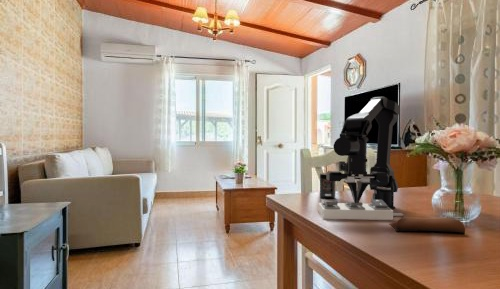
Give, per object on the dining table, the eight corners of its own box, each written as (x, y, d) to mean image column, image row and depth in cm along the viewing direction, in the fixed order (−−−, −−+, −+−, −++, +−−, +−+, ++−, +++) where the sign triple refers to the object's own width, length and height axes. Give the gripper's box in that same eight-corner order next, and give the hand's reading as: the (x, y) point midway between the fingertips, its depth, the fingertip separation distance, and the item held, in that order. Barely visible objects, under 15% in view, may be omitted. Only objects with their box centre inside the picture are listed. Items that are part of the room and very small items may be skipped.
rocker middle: (357, 204, 105) (357, 201, 105) (362, 205, 100) (362, 202, 100) (347, 203, 105) (347, 201, 105) (351, 205, 100) (351, 202, 100)
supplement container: (333, 196, 137) (333, 173, 137) (337, 199, 130) (337, 174, 130) (318, 196, 137) (318, 172, 137) (321, 199, 131) (321, 174, 130)
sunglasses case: (448, 225, 92) (455, 209, 88) (460, 244, 86) (468, 227, 82) (386, 223, 94) (390, 207, 90) (393, 242, 88) (398, 225, 84)
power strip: (396, 212, 108) (396, 202, 108) (409, 220, 98) (409, 209, 98) (318, 211, 109) (318, 201, 109) (323, 218, 99) (323, 207, 99)
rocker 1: (334, 204, 106) (334, 201, 106) (337, 204, 100) (337, 201, 101) (323, 203, 106) (323, 201, 106) (326, 204, 101) (326, 201, 101)
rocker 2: (381, 202, 105) (381, 199, 105) (387, 208, 100) (387, 205, 99) (370, 201, 105) (371, 199, 105) (376, 208, 100) (376, 205, 100)
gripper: (377, 154, 108) (376, 198, 108) (323, 153, 109) (323, 197, 109) (390, 156, 97) (389, 205, 97) (330, 155, 98) (329, 204, 98)
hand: (356, 202), depth 101 cm, fingers closed, pressing on rocker middle
